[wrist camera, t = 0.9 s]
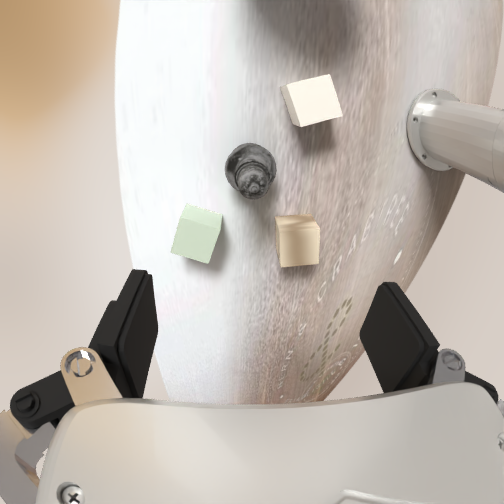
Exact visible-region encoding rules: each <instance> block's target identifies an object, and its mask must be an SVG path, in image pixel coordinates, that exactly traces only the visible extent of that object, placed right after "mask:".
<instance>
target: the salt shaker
mask: <svg viewBox="0 0 504 504" xmlns="http://www.w3.org/2000/svg"><path fill="white" fill-rule="evenodd" d="M225 174H226V177H227V180H228V182H229V183H230V184H231V186H232V187H234V188H235V189H236V190H238V191H240V193H241V194H242V195H243V196H244V197H246V198H248V199H259V198H261V197H263V196H264V195H265V194H266V193H267V191H268V188H269V185H270V184H271V183H272V182H273V180H274V178H275V175H276V163H275V160H274V157H273V156H272V155H271V153H270V152H269V151H268V150H266V149H265V148H263V147H261V146H260V145H257V144H253V143H246V144H242V145H240V146H238V147H237V148H235V149H234V150H233V152H232V153H231V154H230V155H229V157H228V159H227V161H226V165H225Z"/></svg>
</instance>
